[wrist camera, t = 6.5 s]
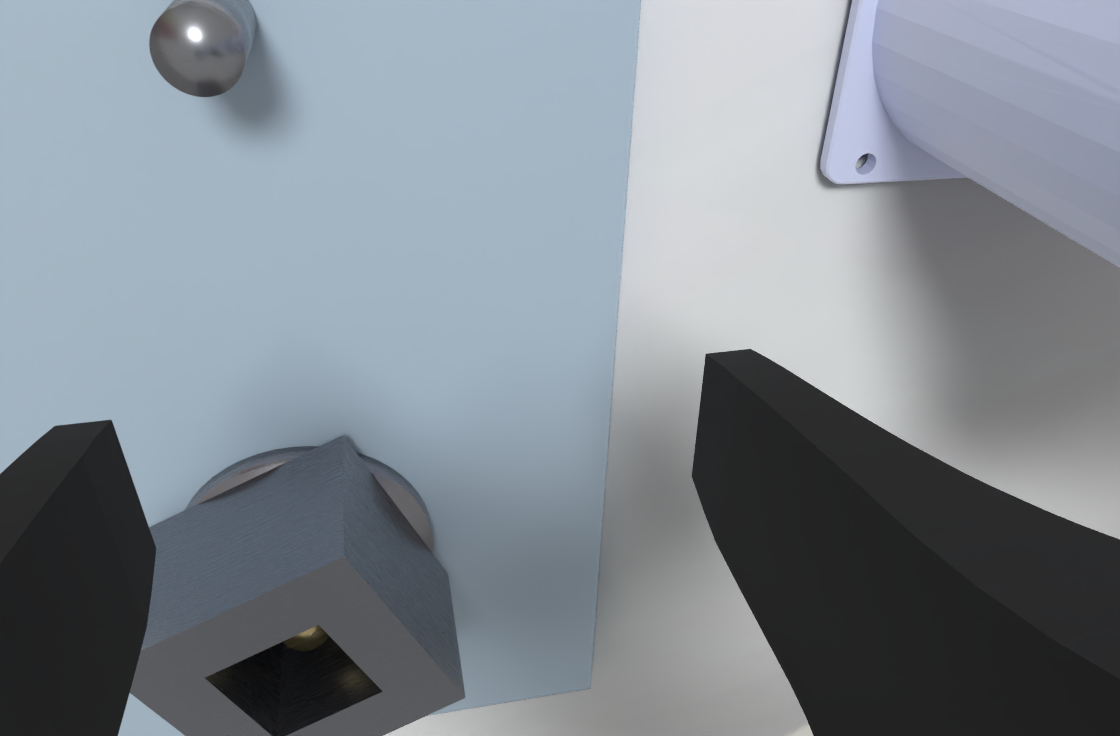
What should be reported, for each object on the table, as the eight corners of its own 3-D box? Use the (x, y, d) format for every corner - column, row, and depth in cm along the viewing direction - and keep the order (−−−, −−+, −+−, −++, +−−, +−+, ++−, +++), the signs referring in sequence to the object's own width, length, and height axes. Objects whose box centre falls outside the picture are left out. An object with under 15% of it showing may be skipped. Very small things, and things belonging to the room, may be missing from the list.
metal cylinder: (250, -23, 15) (236, 4, 13) (262, 58, 16) (251, 95, 14) (166, -23, 15) (139, 5, 13) (183, 60, 16) (159, 98, 14)
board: (646, -298, 15) (663, -304, 14) (583, 664, 29) (590, 688, 29) (-435, -360, 12) (-492, -372, 11) (73, 745, 26) (64, 775, 26)
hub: (424, 432, 22) (435, 516, 19) (437, 609, 25) (447, 700, 23) (151, 461, 20) (124, 554, 18) (204, 642, 24) (188, 742, 21)
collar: (343, 434, 20) (343, 556, 17) (447, 573, 24) (465, 697, 20) (138, 532, 21) (100, 670, 17) (268, 656, 24) (257, 792, 21)
